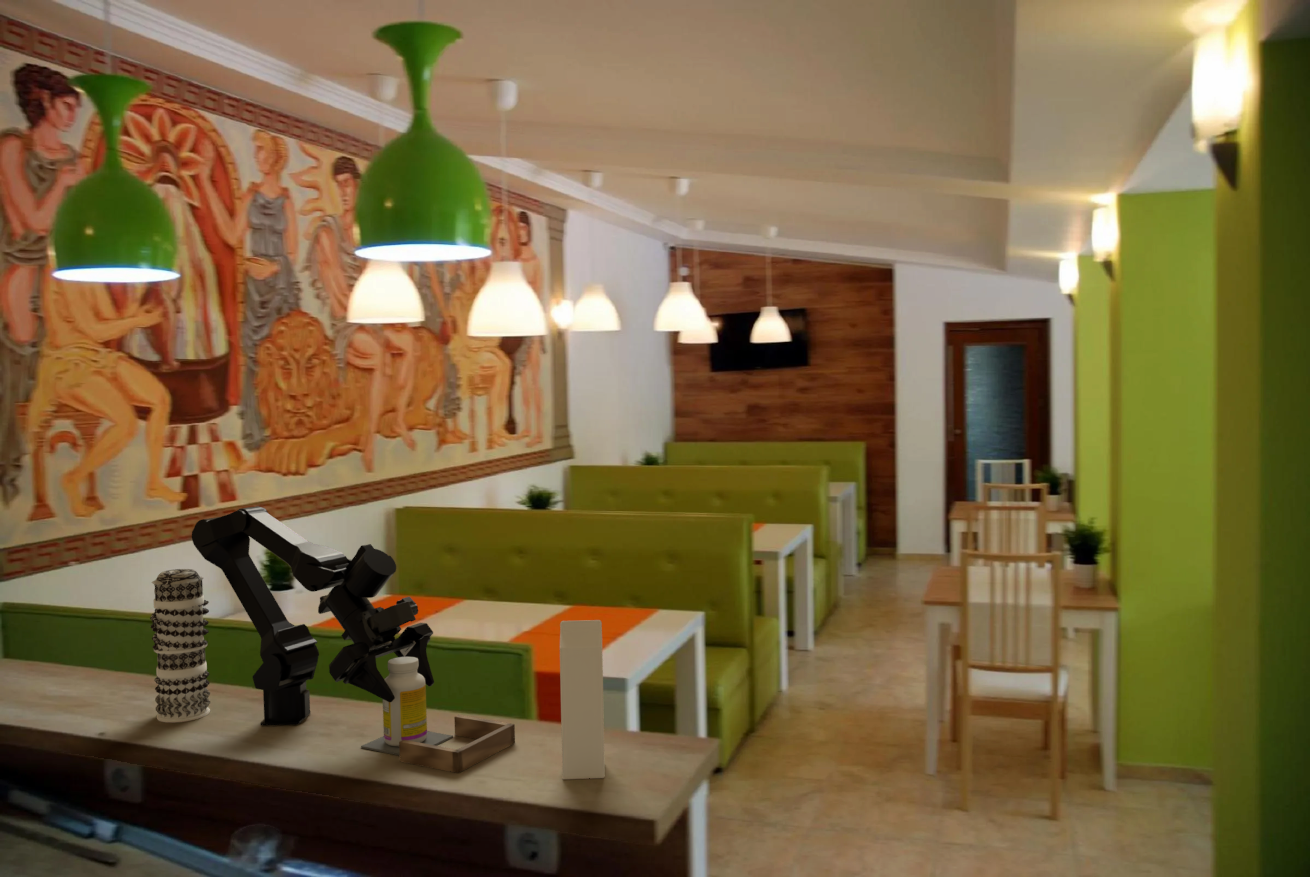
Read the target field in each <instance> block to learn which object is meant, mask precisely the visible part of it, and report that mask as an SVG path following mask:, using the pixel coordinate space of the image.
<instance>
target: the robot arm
mask: <svg viewBox="0 0 1310 877" xmlns="http://www.w3.org/2000/svg"><path fill="white" fill-rule="evenodd" d="M191 539H192V540H191V541H192V543H193V546H194V547H195V549H196V550H197V551H198V552H199V554H200V555H201V556H202V558H204V560H205V561H208V563H210V564H212V565H214V566H215V567H218V568H219V569H221V571H222V572H223V574H224V575H225V578H226V580H227V581H228V583H229V584H230V587H232V590H233V591H234V593H235V594H236V597H237V598H238V600H239V602H240V603H241V606H242V607H243V609H244V610H245V612H246V614H247V616H248V618H249V619H250V621H251V623H252V624H253V626H254V627H255V629H256V632H257V633H258V635H259V637H260V648H259V649H260V650H259V651H260V652H259V657H260V659H261V661H262V664H261V665H260V666H259V667H258V669H257V670H256V671H255V673H253V675H252V681H253V685H254V688H255V689H256V690H260V691H261V690H262V692H263V693H262V695H263V696H262V698H263V717H264V718H263V719H262V720H261V721H260V722H259V724H260V726H298V725H300V724H301V723H302V722H303V721H304V720H305V719H306V718H308V716H309V715H311V712H312V711H311V701H310V700H311V699H310V698H311V697H310V695H311V694H310V690H309V689H307V681H308V680H310V681H311V680H314V677H315V676H314V675H315V673H316V669H317V664H318V662H319V657H320V652H319V649H318V646H317V645H316V644H318V641H317V640H316V639H315V638H314V637H313V636H312V634H311V631H310V629H309V627H308V626H307V624H305V623H302V624H298V625H294V624H293V623H291V622H290V621H289V620H288V619H287V617H286V615H285V614H284V612H283V609H282V608H281V607H280V605H279V603H278V602H277V600H276V599H275V596H274V595H273V593H272V592H271V590H270V588H269V587H268V585H267V583H266V581H265V579H264V577H263V576H262V575H261V573H260V571H259V569H258V568H257V566H256V565H255V564H256V563H255V562H254V561H253V560H252V557H251V556H250V542H251V539H252V540H254V541H255V542H257V543H258V544H259V545H261V546H262V547H264V548H265V549H266V550H268V551H269V552H271V553H272V554H273V555H274V556H276V557H278V558H279V559H280V560H282V561H283V562H285V563H286V564H288V567H290V569H291V573H292V576H293V577H294V579H296V580H297V582H298V583H299V584H300V585H301V586H302V587H303V588H304V589H305V590H306V591H309V592H319V591H323V590H327V589H331V590H330V591H329V592H328V594H326V595H325V594H324V595H322V596H320V597H319V604H318V608H317V611H318V612H317V613H318V614H320V615H321V614H327V613H328V612H329V613H330V612H331V614H332V615H333V616H334V618H335V619H336V620H337V622H338V623H339V625H340V626H341V627H342V629H343V630H344V631H343V633H342V634H341V637H342V639H343V640H344V641H347V640H351V641H352V643H351V644H348V645H346V646H343V647H342V648H341V650H340V651H339V652H338V653H337V655H335V657H334V658H333V659H332V661H330V663H329V665H328V667H329V668H328V670H329V671H328V673H329V675H330V676H331V677H332V679H333V680H334V681H335V683H338V682H341V681H342V682H343V684H344V685H346V684H349V685H352V686H354V687H356V688H359V689H362V690H364V691H366V692H367V693H370V694H372V695H373V696H376V697H377V698H380V699H382V700H383V699H384V700H386V701H388V702H392V701H393V700H394V699H395V697H394V695H393V693H392V691H391V689H390V688H389V686H388V684H387V683H386V681H385V680H384V679H385V678H384V677H383V675H382V674H381V672H380V671H379V669H378V666H377V660H376V659H378V658H381V657H384V656H387V655H389V654H392V653H394V654H395V656H396V657H397V658H398V657H415V658H418V663H419V666H418V669H417V673H419V674H421V675H422V676H423V677H424V678H425V684H426V686H427V687H432V686H433V685H434V684H435V679H434V677H433V672H432V669H431V666H430V662H429V658H428V654H427V647H428V644H429V643H430V641H431V637H432V636H433V635H434V631H433V630H432V628H431V627H430V626H429V624H428V623H426V622H418V623H415V624H412V625H409V626H406V627H405V629H404V630H403V631H402V633H401V634H400V635H399V636H398V637H395V636H396V635H398V634H399V633H400V632H401V630H402V628H401V626H403V625H405V624H407V623H409V622H411V623H412V622H414V621H416V620H417V619H416V615H418V614H419V609H418V608H419V606H418V605H417V603H416V602H415V601H414V600H413V598H412V597H411V596H407V597H402V598H401V599H400V600H396V604H394V605H391V606H388V607H385V608H384V607H381V606H379V607H374V606H373V604H372V603H371V601H370V599H371V598H375V597H376V596H377V595H378V594H379V592H381V590H383V588H384V586H386V584H387V582H389V580H390V579H391V578H392V577H393V575H394V574H395V573H396V571H397V563H396V562H395V560H394V558H393V557H392V556H391V555H388V554H387V553H386V552H385V551H383V550H381V549H377V548H374V546H373V545H372V544H371V543H367V544H364V545H360V547H359V548H358V549H357V551H356V554H355V555H354V556H353V557H352V559H351V558H347V555H345V554H344V553H343V552H341V551H338V550H336V549H334V548H332V547H329V546H326V545H322V544H321V545H320V544H316V543H313V542H311V541H309V540H307V539H306V538H304V537H303V536H302V535H300V534H299V533H297V532H296V531H295V530H293V529H291V528H290V527H288V526H287V525H285V524H284V523H283V522H281V521H280V520H278V519H277V518H275V517H274V516H272V515H271V514H269V511H268V510H267V509H266V508H265V507H262V506H259V505H258V506H249V507H243V508H238V509H237V510H235V511H232V512H230V513H228V514H224V515H221V516H217V517H210V518H209V517H208V518H203V519H200V520H198V521H197V522H196V523H195V525H194V527H193V529H192V531H191ZM369 598H370V599H369Z"/></svg>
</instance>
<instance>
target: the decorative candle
mask: <svg viewBox="0 0 1310 877" xmlns="http://www.w3.org/2000/svg"><path fill="white" fill-rule="evenodd" d="M203 579H204V577H203V576H200V575H199V573H198V572H197V570H195V569H190V568H177V569H176V568H175V569H169V570H164V571H162V572H160V573H159V574H158V575H157V577H156V579H155V580H153V581H152V582H151V583H152V584H153V586H154V599H153V608H154V612H152V614H151V615H150V617H149V619H150V620H151V622H152V624H151V625H150V629H151V631H152V632H154V633H153V636H152V637H151V640H152V641H153V643H154V645H152V649H153V652H154V653H156V654H157V657H156V660H157V666H156V677H155V678H154V682H155V683H156V685H157V686H156V687H154V690H155V692H156V693H157V696H156V697H155V699H154V701H155V703H156V704H157V705H156V706H155V711H156V712H157V715H156V719H157V721H158V722H162V723H183V722H184V723H185V722H189V721H194V720H197V719H201V718H204V717H206V716H208V715H209V714H210V712H211V709H210V707H209V706H210V704H211V700H210V699H209V696H210V695H211V692H210V690H209V689H208V688H207V687H208V686H209V685H210V683H211V682H210V681H209V680H208V677H209V676H210V672H208V670H207V669H208V665H207V660H206V647H207V646H208V644H209V641H207V640H206V639H205V637H204V636H206V635H207V634H208V633H210V632H209V631H210V630H209V629H206V628H205V627H206V626H207V625H209V621H208V620H206V618H204V616H206V615H207V614H208V613H209V612H210V610H209V609H208V608H206V605H209V603H210V602H209V601H208V600H206V599H205V595H204V592H203V591H204V589H203V588H204V587H203Z"/></svg>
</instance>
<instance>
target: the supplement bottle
mask: <svg viewBox="0 0 1310 877" xmlns="http://www.w3.org/2000/svg"><path fill="white" fill-rule="evenodd" d="M418 666H419V663H418V658H415V657H398V656H397V657H393V658H391V659H389V660H388V661H387V669H388V672H389V673H388V675H387V676H386V677H385V678H384V680H385V681H386V683H387V684H388V686H389V688H390V689H391V691H392V693H393V695H394V697H395V699H394V700H393V701H392V702H388V701H386V700H384V699H382V713H383V714H382V718H383V719H382V724H383V725H382V726H383V727H382V728H383V736H384V740H385V742H386V743H387V744H388V745H391V746H398V747H399V742H400V741H402V740H408V741H414V742H419V743H421V742H423V741H424V740H425V739H426V738H427V731H428V720H427V719H428V717H427V689H426V686H427V685H426V684H425V678H424V677H423V676H422V675H421V674H419V673H417V669H418Z"/></svg>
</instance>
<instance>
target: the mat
mask: <svg viewBox="0 0 1310 877" xmlns="http://www.w3.org/2000/svg"><path fill="white" fill-rule="evenodd" d="M453 738H454V736H453V735H451V734H447V733H441V732H437V731H436V732H435V731H429V730H427V738H426V739H425V740H424V741H423V742H421V743H424V744H430V745H435V746H439V745H440V744H443V743H444V742H446V741H449V740H450V739H453ZM360 748H361V749H363V750H364V749H365V750H369V751H370V750H371V751H374V752H378V753H379V752H380V753H384V754H390V755H395V756H400V752H399V747H398V746H391V745H388V744H387V743H386V742H385V740H384V735H383V736H380V737H378V738H376V739H373V740H371V741H369V742H367V743H365V744H362V745H360Z"/></svg>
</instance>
